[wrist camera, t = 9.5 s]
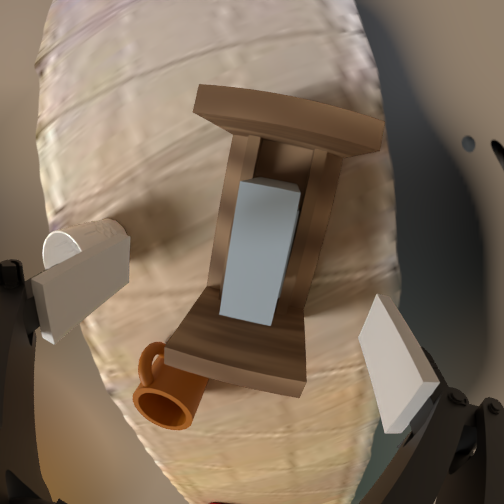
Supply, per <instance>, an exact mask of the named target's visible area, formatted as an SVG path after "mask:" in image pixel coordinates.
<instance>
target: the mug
mask: <svg viewBox="0 0 504 504" xmlns="http://www.w3.org/2000/svg"><path fill="white" fill-rule="evenodd" d="M165 345H166V344H164V343H162V342H154V343H151V344H149V345H148V346H147V347H146V348H145V349H144V351H143V352H142V354H141V357H140V359H139V365H138V373H139V378H140V381H141V383H140V385H139V386H138V388H137V389H136V391H135V392H134V394H133V402H134V405H135V407H136V408H137V410H138V411H139V412H140V413H141V414H142V415H143V416H144V417H145V418H146V419H147V420H149V421H151V422H152V423H154V424H156V425H158V426H160V427H163V428H166V429H170V430H183V429H187V428H188V427H189V426H191V424H192V421H193V419H194V416H195V413H196V411H197V408H198V406H199V403H200V401H201V398H202V396H203V393H204V390H205V388H206V385H207V383H208V380H209V378H207V377H204V376H200V375H197V374H194V373H190V372H187V371H184V370H181V369H178V368H175V367H172V366H169V365H166V364H164V347H165ZM157 354H158V355H159V356H158V357H157V359H156V360H155V362H154V363H153V365H152V361H153V358H154V357H155V355H157Z"/></svg>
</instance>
